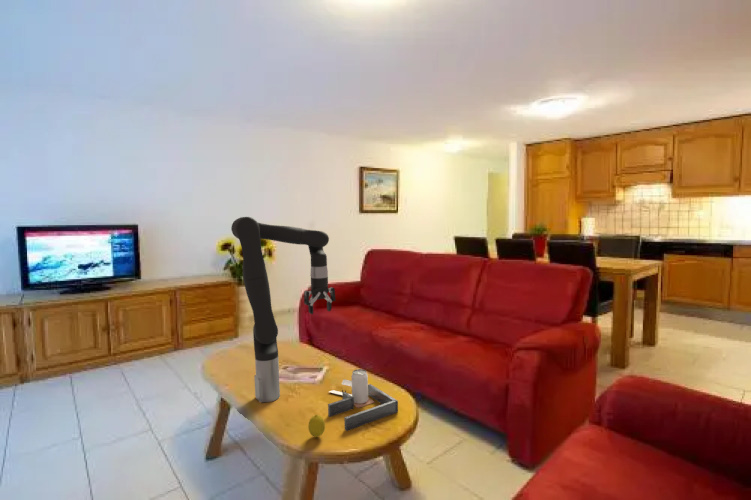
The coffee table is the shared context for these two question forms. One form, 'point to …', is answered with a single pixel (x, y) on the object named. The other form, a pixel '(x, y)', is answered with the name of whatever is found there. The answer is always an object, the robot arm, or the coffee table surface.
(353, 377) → the can
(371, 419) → the guide rails
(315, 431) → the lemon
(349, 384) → the white strips
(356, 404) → the pad
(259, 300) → the robot arm
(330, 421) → the coffee table surface
